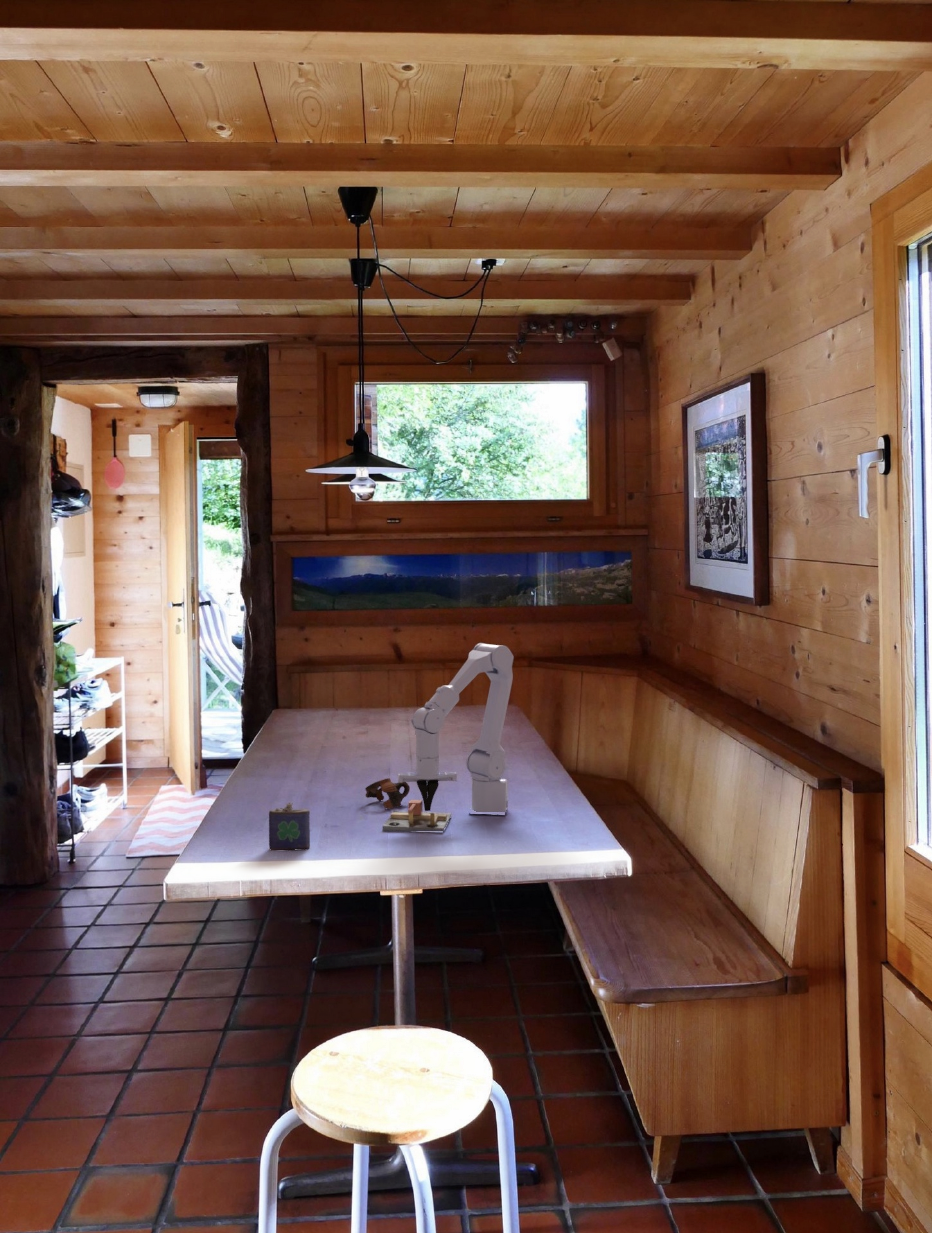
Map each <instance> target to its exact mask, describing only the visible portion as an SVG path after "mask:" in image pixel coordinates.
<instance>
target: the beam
mask: <svg viewBox="0 0 932 1233" xmlns="http://www.w3.org/2000/svg"><path fill="white" fill-rule="evenodd" d="M435 813H436V812H435ZM435 813H430V814H421V815H413V819H424V820H430V825H431V826H434V825H435V824H436V823H437V821H438V820H446V819H447V814H435ZM390 816H391V818H397V819H409V815H408V813H394V811H393V812H391V813H390Z"/></svg>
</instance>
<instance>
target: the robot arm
mask: <svg viewBox="0 0 932 1233" xmlns="http://www.w3.org/2000/svg"><path fill="white" fill-rule="evenodd" d="M467 657H468V658H467V660H466V661H465V662H464V663H463V665H462V666H461V667H460V669H459V670H458V672H457V673H456V674H455V676H453V678H452V680H451V681H450V682H449V684H448V685H442V686H439V687H437V689H436V690H435V693H434V694H433V695H432V697H430V699H429V701H426V702H425V704H424V706H423V707H420V708H418V709H416V711H415V712H414V714H413V716H412V718H411V719H410V723H411V726H412V728H413V729H414V735H415V771H413V772H403V773H399V772H398V774H397V779H398V780H397V783H398V782H399V783H403V782H407V783H410V782H411V783H415V782H416V784H417V788H418V790H419V792H420V794H421V795H420V796H421V797H422V800H423V807H424V808H423V810H424V812H431V807H432V803H433V800H434V797H435V795H436V792H437V790H438V788H439V784H440V783H439V782H457V781H458V780H457V779H458V778H457V775H458V774H457V772H456V771H440V731H441V730H442V729H443V728H444V725H445V720H446V718H447V715H449V713H450V712H451V711H452V710H453V708H454V707H455V706H456V705H457V704H458V703H459V701H460V693H461V692H462V691H463V690H464V689H465V688H466V687H467V686H468V685H469V684H471V682H472V681H473V680H474V679H475V678H476V677H477V675H479V674H482V673H485V674H486V676H487V677H488V678H489V680H490V686H489V689H488V690H489V691H488V696H487V701H486V705H485V709H484V710H485V711H484V714H483V721H482V725H481V729H480V730H481V731H480V734H479V739H478V740H477V741H476V742H475V743H473V744H472V746H471V750H470V753H469V754H468V755H467V758H466V760H465V762H466V763H465V767H466V769H467V771H468V772H469V773H470V777H471V807H472V810H474V811H476V812H506V813H507V811H506V808H507V809H508V807H509V800H508V779H507V778H502V776H503V775H504V774H505V771H506V758H505V757H506V751H505V749H504V748H503V747H502V744H501V741H502V735H503V728H504V725H505V719H506V714H507V709H508V705H509V700H510V694H511V690H512V684H513V677H514V675H513V674H514V673H513V663H514V659H515V658H514V655H513V653H512V651H511V650H510V648H509V647H508V646H506V645H500V644H497V645H496V644H489V643H484V642H479V643H477V644H475V646H474V648H473V649H472V650H471V651H469V653H468V656H467Z"/></svg>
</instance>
